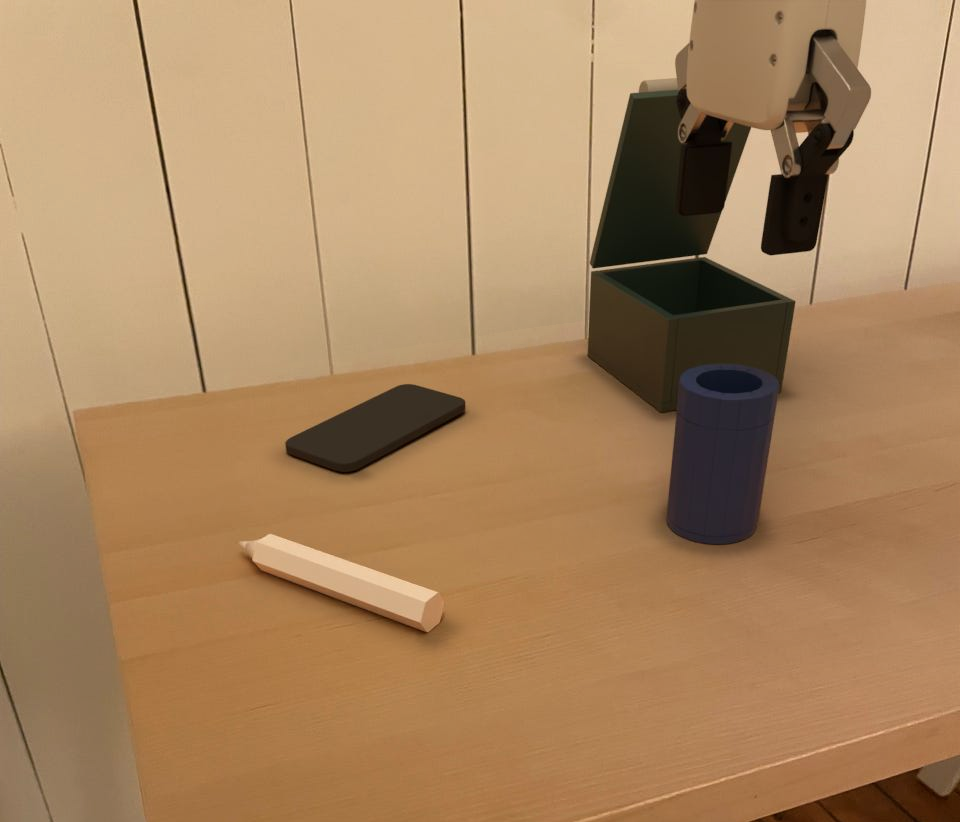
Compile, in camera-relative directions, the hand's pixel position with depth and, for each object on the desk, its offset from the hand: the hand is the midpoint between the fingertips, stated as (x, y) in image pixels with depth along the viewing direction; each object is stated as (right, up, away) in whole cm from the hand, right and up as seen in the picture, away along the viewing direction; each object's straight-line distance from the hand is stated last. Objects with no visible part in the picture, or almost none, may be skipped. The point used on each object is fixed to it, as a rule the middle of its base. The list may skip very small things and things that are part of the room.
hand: (740, 231), depth 59 cm
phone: (-24, -7, +23) cm, 33 cm away
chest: (+3, 0, +32) cm, 32 cm away
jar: (0, -16, +9) cm, 18 cm away
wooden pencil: (-25, -21, +4) cm, 33 cm away
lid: (+1, +15, +26) cm, 30 cm away
